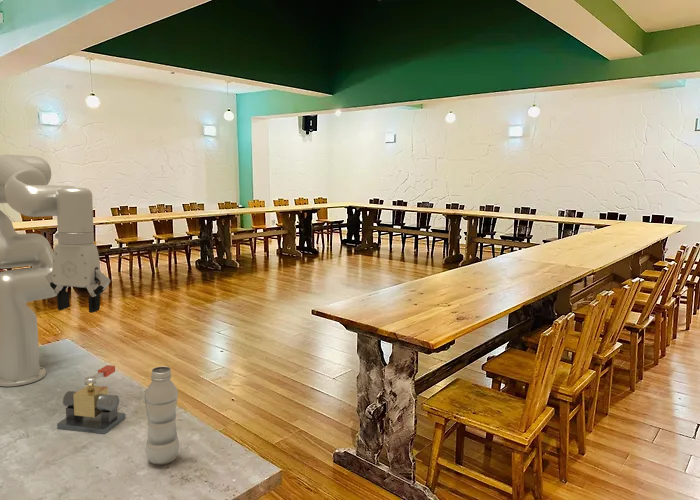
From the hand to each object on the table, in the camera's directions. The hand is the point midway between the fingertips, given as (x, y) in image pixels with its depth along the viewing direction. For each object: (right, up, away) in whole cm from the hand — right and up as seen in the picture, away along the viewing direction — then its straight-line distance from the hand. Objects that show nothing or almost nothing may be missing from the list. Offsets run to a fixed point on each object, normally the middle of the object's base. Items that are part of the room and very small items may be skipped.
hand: (78, 309), depth 119 cm
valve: (+5, -27, -3) cm, 27 cm away
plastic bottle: (+27, -30, -17) cm, 44 cm away
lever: (+6, -17, -1) cm, 18 cm away
